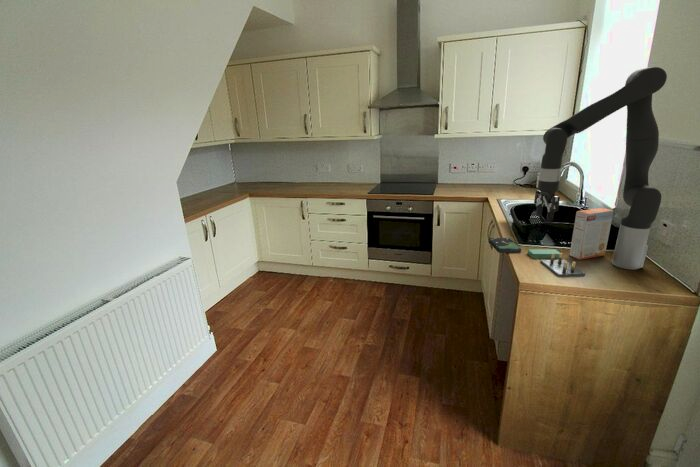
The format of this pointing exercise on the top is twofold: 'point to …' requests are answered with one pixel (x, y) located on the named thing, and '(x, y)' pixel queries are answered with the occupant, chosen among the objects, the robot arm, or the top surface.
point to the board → (543, 253)
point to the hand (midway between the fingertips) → (544, 217)
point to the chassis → (562, 267)
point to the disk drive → (504, 245)
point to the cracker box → (591, 233)
